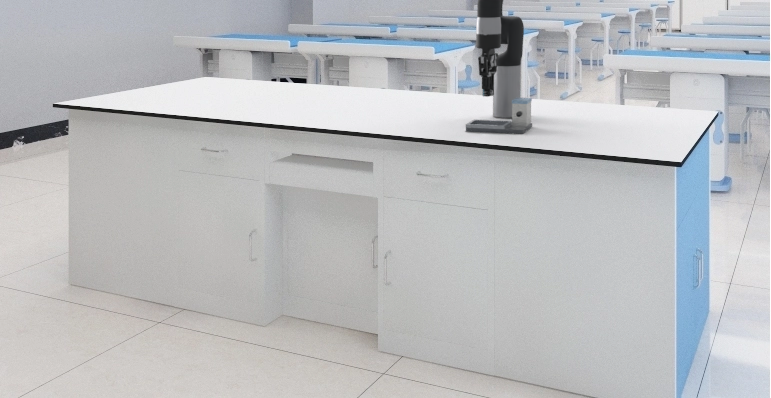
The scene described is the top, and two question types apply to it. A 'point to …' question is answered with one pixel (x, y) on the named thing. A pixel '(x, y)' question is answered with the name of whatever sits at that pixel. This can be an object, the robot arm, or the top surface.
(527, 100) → the base
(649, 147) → the top surface
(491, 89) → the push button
